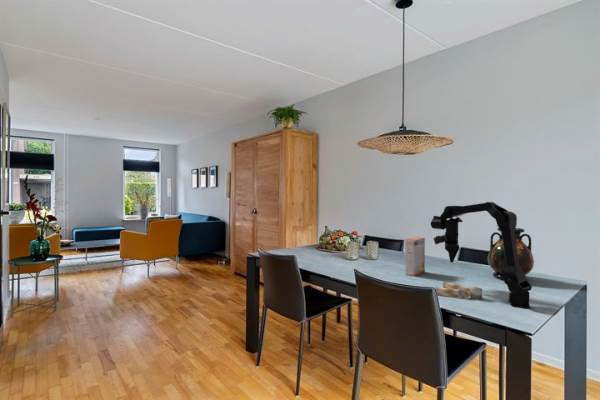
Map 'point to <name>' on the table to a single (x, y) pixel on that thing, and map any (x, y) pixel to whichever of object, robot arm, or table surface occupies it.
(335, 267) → the table surface
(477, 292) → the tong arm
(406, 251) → the cracker box
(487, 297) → the table surface
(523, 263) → the amphora vase
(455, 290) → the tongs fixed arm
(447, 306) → the table surface
